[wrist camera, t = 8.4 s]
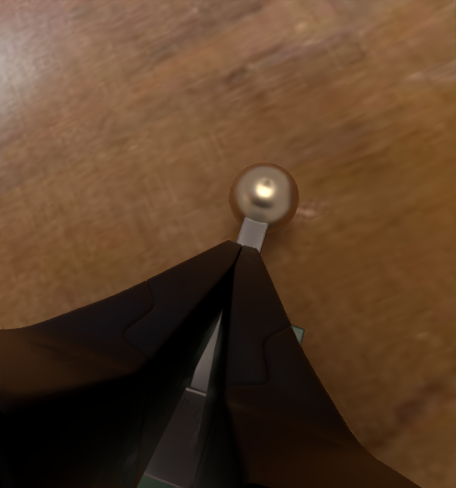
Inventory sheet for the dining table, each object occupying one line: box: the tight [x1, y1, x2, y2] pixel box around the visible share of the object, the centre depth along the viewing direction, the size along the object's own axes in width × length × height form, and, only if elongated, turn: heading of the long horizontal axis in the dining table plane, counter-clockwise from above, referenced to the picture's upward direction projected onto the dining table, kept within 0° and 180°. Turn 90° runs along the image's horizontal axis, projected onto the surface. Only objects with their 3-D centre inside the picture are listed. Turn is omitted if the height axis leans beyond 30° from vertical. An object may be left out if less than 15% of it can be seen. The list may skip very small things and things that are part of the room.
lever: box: [143, 163, 299, 488], centre depth 14 cm, size 13×3×3 cm, turn 163°
